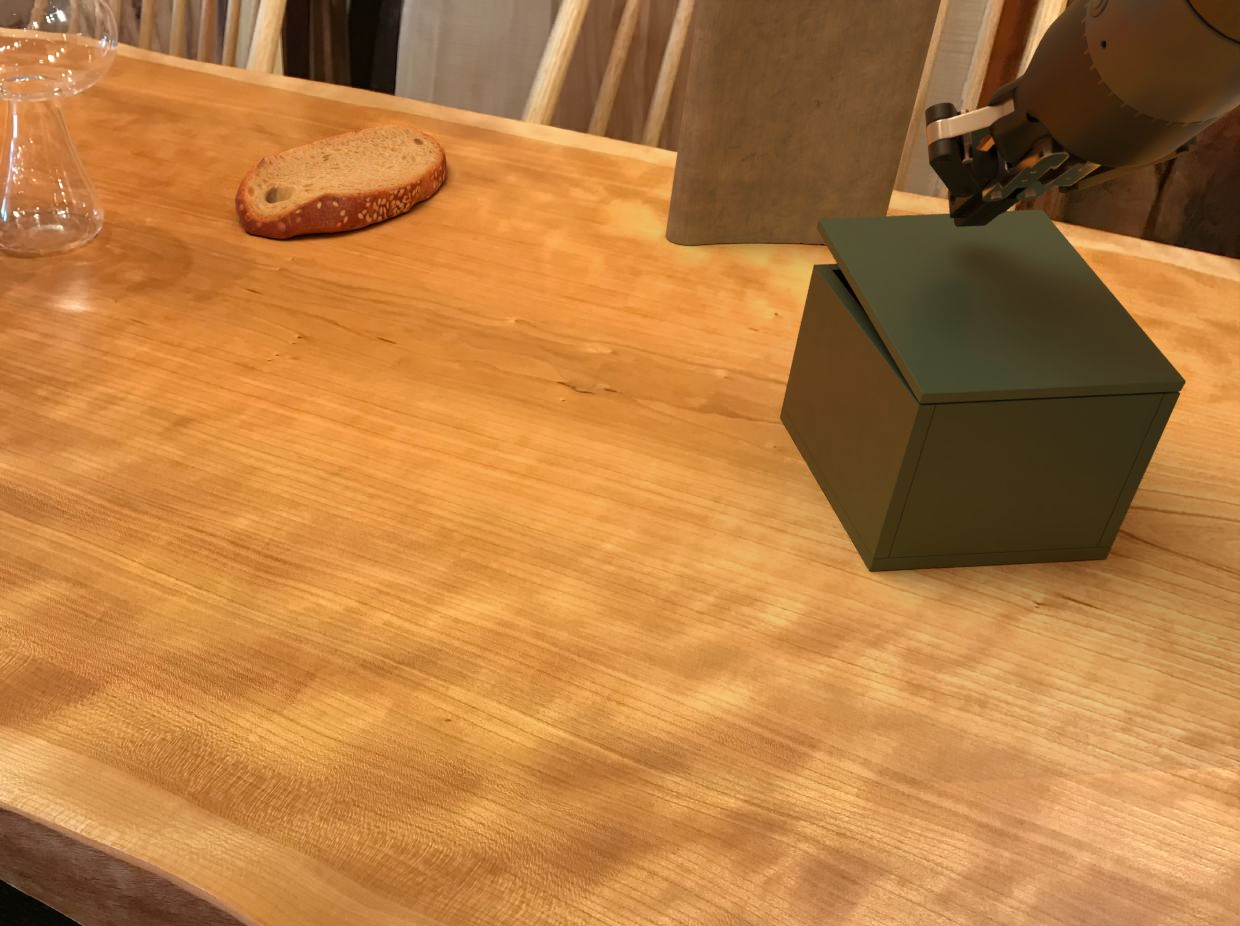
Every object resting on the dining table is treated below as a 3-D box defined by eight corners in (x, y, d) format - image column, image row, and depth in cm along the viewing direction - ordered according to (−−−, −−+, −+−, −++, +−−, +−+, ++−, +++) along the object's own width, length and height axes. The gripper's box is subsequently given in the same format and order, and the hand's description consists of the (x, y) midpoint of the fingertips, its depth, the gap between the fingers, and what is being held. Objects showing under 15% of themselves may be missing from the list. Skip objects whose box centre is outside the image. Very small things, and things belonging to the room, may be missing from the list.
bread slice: (438, 147, 115) (439, 103, 112) (467, 231, 101) (469, 183, 99) (234, 157, 114) (231, 113, 112) (236, 243, 101) (232, 195, 98)
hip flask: (667, 244, 99) (709, -50, 86) (662, 223, 102) (702, -65, 89) (883, 248, 97) (960, -50, 84) (872, 226, 100) (944, -65, 87)
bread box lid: (815, 228, 73) (818, 218, 72) (1038, 218, 73) (1042, 208, 73) (919, 404, 62) (923, 393, 61) (1181, 391, 62) (1187, 381, 61)
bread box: (779, 417, 80) (813, 264, 73) (982, 407, 80) (1034, 254, 74) (869, 571, 68) (919, 405, 62) (1106, 559, 68) (1181, 393, 62)
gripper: (1025, 126, 51) (847, 284, 68) (1358, 112, 51) (1096, 273, 68) (1009, -60, 51) (836, 144, 68) (1339, -73, 52) (1084, 134, 69)
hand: (967, 208), depth 68 cm, fingers closed
